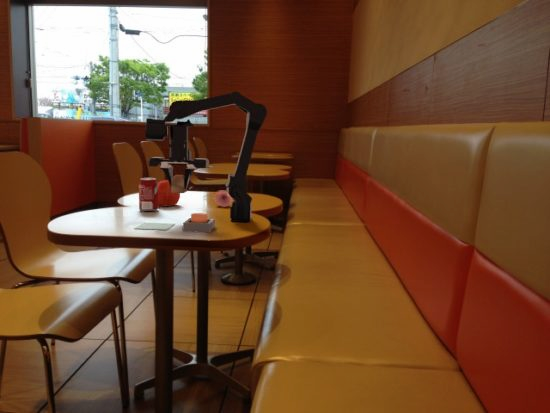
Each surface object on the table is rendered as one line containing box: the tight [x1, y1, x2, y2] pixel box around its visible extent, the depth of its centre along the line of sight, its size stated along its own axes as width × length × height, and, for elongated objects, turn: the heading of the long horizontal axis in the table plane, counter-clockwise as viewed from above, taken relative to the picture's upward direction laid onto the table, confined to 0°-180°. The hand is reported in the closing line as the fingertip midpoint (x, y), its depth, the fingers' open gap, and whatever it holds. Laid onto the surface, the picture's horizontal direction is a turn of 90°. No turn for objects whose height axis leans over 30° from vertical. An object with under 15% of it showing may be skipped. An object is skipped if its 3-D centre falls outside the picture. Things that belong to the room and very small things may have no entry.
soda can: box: [138, 177, 159, 212], centre depth 166 cm, size 7×7×12 cm
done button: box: [190, 212, 209, 223], centre depth 138 cm, size 5×5×3 cm
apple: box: [157, 179, 181, 207], centre depth 179 cm, size 10×10×10 cm
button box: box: [182, 217, 216, 233], centre depth 138 cm, size 8×8×2 cm
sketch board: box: [133, 222, 176, 231], centre depth 140 cm, size 10×9×1 cm
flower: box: [213, 189, 234, 208], centre depth 182 cm, size 8×8×6 cm
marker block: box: [171, 174, 188, 194], centre depth 148 cm, size 4×4×6 cm
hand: (179, 188), depth 148 cm, fingers closed on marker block, 4 cm apart
